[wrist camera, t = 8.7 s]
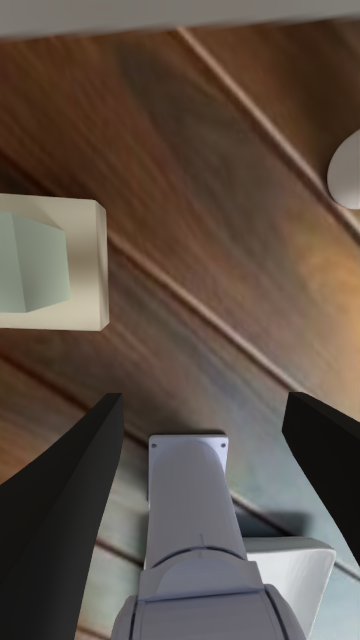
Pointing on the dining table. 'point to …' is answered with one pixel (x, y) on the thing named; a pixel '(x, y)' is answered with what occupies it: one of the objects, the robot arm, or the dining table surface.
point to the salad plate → (294, 571)
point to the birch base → (69, 262)
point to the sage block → (31, 265)
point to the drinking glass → (346, 173)
